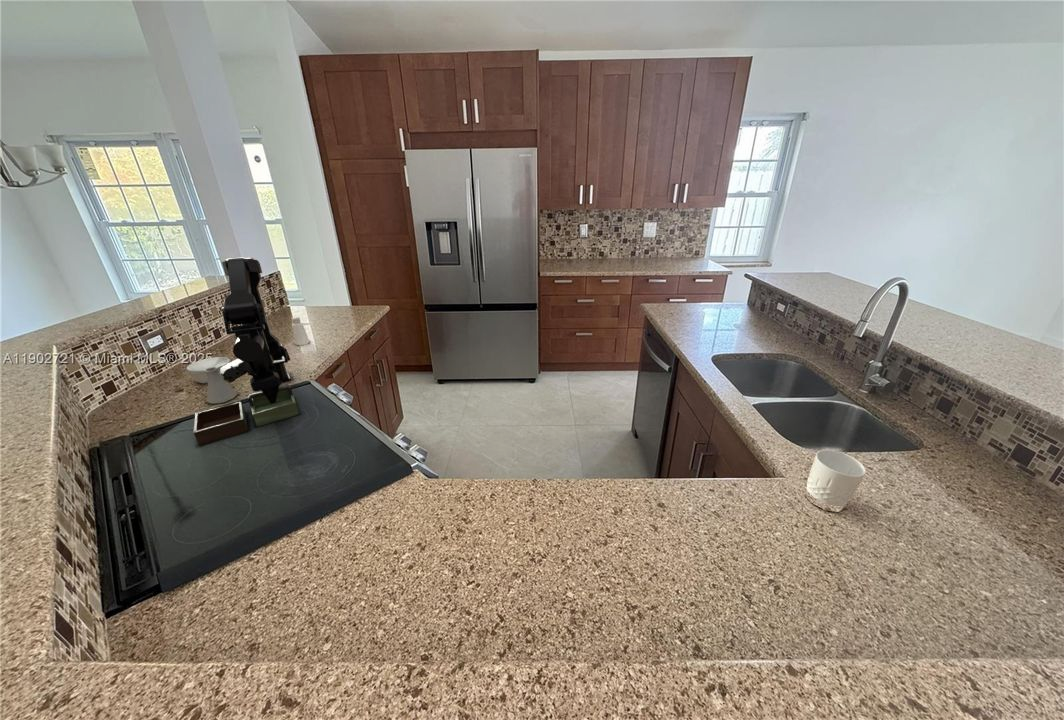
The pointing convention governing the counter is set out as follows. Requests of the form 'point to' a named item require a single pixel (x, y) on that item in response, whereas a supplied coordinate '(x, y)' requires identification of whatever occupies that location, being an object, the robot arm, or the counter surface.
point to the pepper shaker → (299, 332)
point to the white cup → (834, 477)
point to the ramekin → (199, 367)
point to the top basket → (273, 406)
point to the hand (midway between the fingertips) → (271, 398)
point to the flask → (218, 387)
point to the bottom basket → (220, 423)
